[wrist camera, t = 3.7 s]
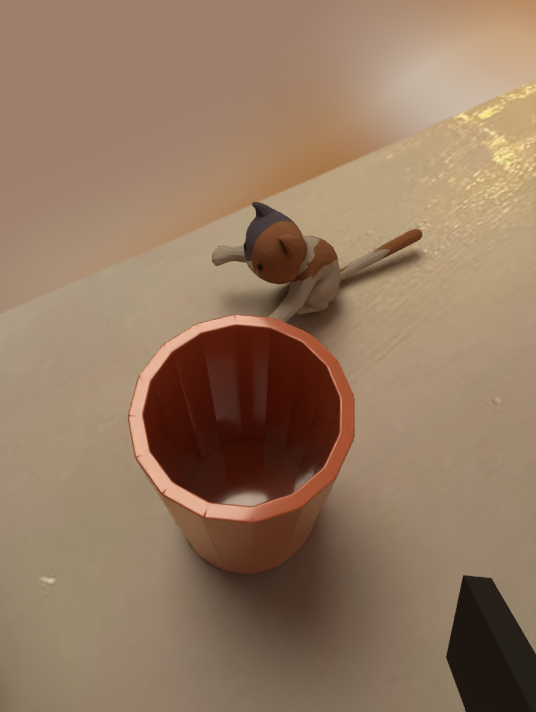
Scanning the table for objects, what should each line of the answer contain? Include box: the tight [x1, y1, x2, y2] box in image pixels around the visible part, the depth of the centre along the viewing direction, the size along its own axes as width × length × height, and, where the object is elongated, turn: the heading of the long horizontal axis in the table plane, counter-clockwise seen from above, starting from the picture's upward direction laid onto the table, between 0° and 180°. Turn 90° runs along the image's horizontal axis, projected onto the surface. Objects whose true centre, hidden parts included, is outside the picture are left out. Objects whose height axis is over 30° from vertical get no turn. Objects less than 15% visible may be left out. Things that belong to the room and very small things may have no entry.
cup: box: [128, 315, 355, 574], centre depth 21 cm, size 7×7×12 cm
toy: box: [212, 202, 422, 323], centre depth 31 cm, size 8×15×8 cm, turn 119°
